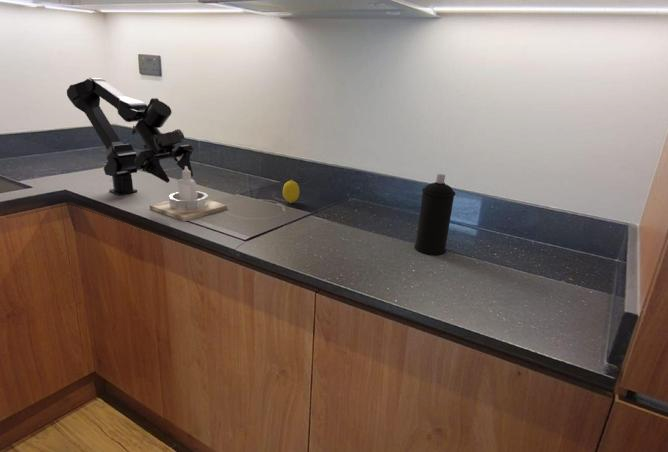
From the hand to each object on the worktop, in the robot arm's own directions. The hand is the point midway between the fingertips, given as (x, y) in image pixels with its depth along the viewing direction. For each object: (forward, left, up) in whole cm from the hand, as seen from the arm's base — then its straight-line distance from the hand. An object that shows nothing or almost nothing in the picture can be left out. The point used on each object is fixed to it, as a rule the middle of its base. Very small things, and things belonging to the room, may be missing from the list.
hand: (180, 179), depth 129 cm
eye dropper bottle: (+3, 0, -8) cm, 8 cm away
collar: (+3, 0, -8) cm, 8 cm away
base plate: (+3, 0, -9) cm, 9 cm away
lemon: (+21, +27, -9) cm, 36 cm away
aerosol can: (+73, +21, -9) cm, 76 cm away
